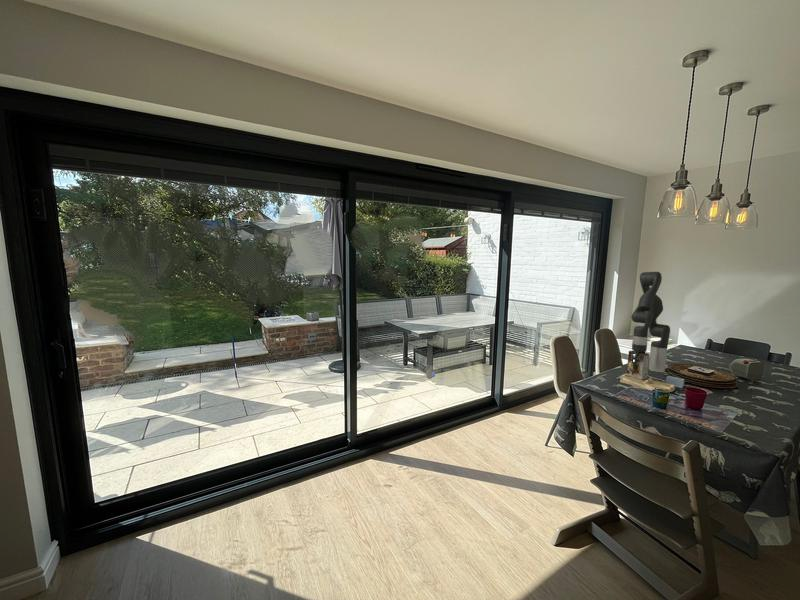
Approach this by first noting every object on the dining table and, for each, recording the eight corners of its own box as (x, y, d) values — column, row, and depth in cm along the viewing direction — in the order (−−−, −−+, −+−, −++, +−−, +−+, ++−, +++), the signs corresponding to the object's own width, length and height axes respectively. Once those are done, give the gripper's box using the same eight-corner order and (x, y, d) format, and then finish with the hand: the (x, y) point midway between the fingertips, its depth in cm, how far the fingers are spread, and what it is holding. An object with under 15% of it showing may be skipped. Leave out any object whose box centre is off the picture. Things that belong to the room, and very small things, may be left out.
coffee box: (625, 375, 212) (628, 350, 210) (632, 374, 215) (634, 349, 213) (641, 380, 204) (643, 354, 202) (647, 378, 207) (649, 353, 205)
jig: (628, 377, 219) (628, 372, 218) (674, 389, 199) (675, 383, 198) (619, 381, 211) (620, 375, 211) (667, 394, 191) (668, 388, 191)
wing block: (667, 383, 210) (668, 375, 210) (683, 386, 204) (684, 379, 203) (665, 384, 208) (666, 376, 207) (682, 388, 201) (682, 380, 201)
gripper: (637, 340, 214) (634, 365, 216) (628, 343, 206) (625, 369, 207) (651, 342, 208) (648, 368, 210) (642, 346, 200) (639, 372, 201)
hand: (637, 368), depth 209 cm, fingers closed on coffee box, 7 cm apart
